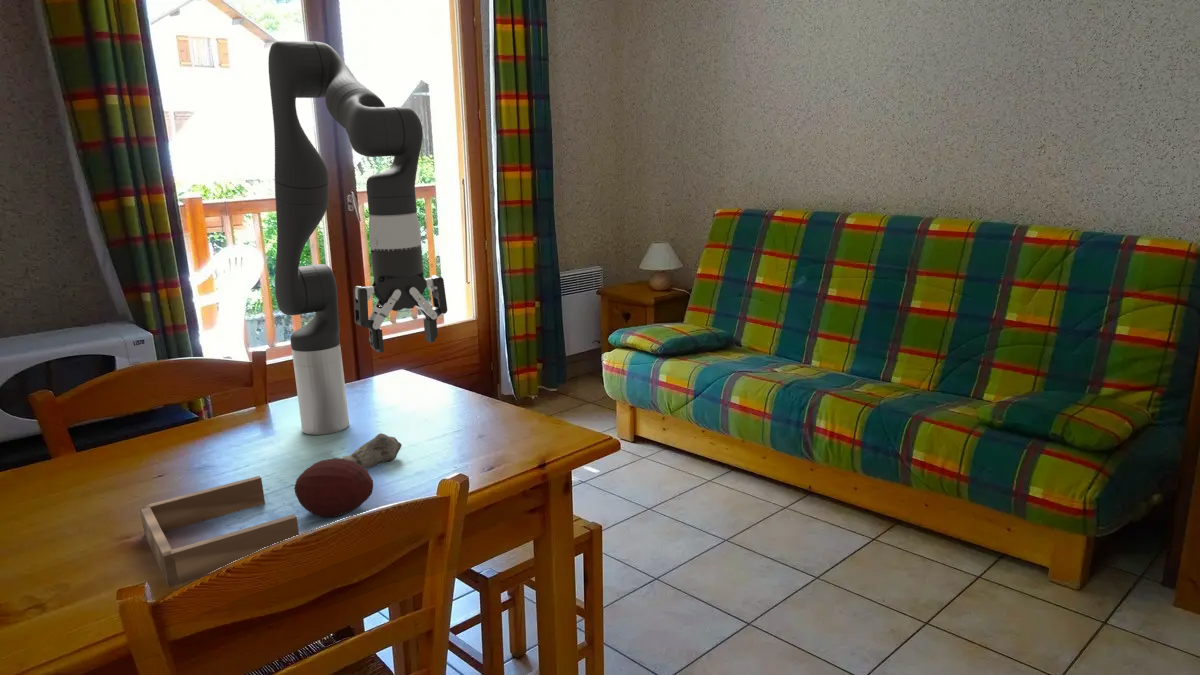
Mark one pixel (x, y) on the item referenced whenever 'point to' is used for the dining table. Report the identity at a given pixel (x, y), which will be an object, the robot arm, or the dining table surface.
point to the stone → (376, 451)
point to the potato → (333, 487)
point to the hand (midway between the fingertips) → (405, 346)
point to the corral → (219, 549)
